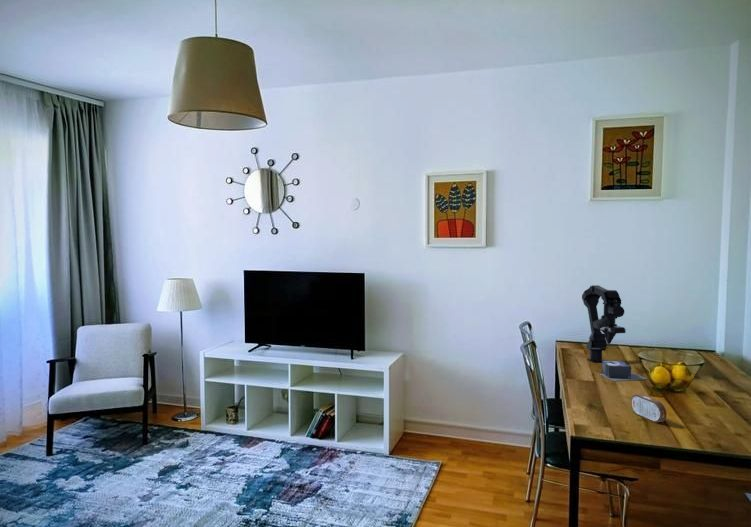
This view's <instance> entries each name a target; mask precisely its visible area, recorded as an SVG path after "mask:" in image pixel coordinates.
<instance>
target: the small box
mask: <svg viewBox="0 0 751 527" xmlns="http://www.w3.org/2000/svg"><path fill="white" fill-rule="evenodd" d="M631 372H632V366H631V365H630V364H628V363H626V362H625V361H624V360H603V361H602V362H601V373H602V374H605V375H606V376H608V378H628V379H631ZM608 378H607V379H608Z"/></svg>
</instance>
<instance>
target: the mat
mask: <svg viewBox="0 0 751 527" xmlns="http://www.w3.org/2000/svg"><path fill="white" fill-rule="evenodd" d="M601 375H602V377H604V378H605V379H608V380H611V381H613V382H624V381H625V382H626V380H629V381H645V380H648V378H646V377H644V376H641V375H639V374H638V373H637V374H636V373H634V372H632V371H631V379H628V378H608V376H606V375H605V374H604V373H599V376H601Z"/></svg>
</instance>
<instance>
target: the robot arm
mask: <svg viewBox="0 0 751 527" xmlns="http://www.w3.org/2000/svg"><path fill="white" fill-rule="evenodd" d="M600 298H601V300H602V301H603V302H602V305H603V314H602V315H601V316H600V318H599V313H598V312H599V311H598V308H597V306H598V304H599V303H600V301H599V300H600ZM581 299H582V302H583V305H584V306H585V307H586V309H587V313H588V319H589V320H588V321H589V325H590V331H591V334H590V335H589V338H588V339H589V340H588V342H587V343H586V349H587V350H588V351H589V358H587V360H588V361H590V362H592V363H602V361H604V359H603V351H604V352H605V351H606V349H607V345H610V344H611V342H612V341H613V340H614V338H615V336H616V335H617V334H626V330H627V329H626V328H625V327H623V326H620V325H619V326H618V324H617V323H616V319H618V318H621V317H623V316H624V315H625V309H624V307H623V306H621V305H622V299H621V297H620V294H619V292H618V290H615V289H607V288H605V287H602V286H601V285H599V284H598V285H594V284H592V285H590V286H589V288H587V289H585V290H584V291H583V293H582V294H581Z"/></svg>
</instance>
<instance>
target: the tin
mask: <svg viewBox="0 0 751 527" xmlns="http://www.w3.org/2000/svg"><path fill="white" fill-rule="evenodd" d="M630 405H631V409H632V410H633V412H634V413H635V414H636V415H637V416H639V417H641V418H644V419H646V420H647V421H651V423H662V422H664V421H665V420H666V419H667V409H666V407H665V405H664V404H663V402H662V401H661V400H659V399H656V398H655V397H651V396H650V395H649V396H648V395H646V394H645V393H638V394H637V393H636V394H634V395H632V396H631V398H630Z"/></svg>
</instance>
